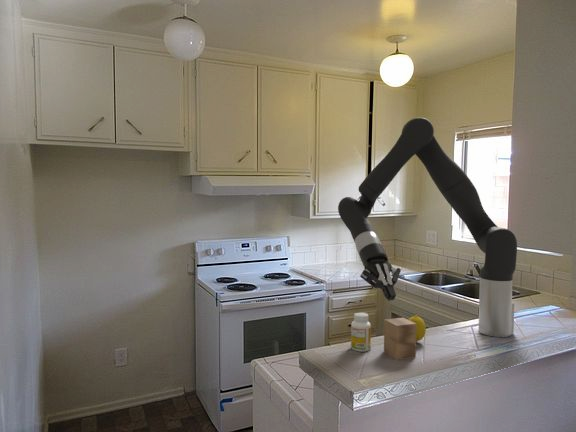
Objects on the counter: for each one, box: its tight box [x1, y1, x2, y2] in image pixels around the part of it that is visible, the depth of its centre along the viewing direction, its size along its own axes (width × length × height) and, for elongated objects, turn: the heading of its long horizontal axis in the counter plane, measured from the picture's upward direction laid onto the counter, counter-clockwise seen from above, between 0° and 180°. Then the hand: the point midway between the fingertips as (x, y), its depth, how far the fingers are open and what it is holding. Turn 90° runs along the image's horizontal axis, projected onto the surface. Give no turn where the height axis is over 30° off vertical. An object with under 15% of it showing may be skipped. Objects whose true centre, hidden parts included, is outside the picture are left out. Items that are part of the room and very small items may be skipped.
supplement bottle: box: [350, 312, 372, 353], centre depth 119 cm, size 5×5×10 cm
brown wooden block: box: [383, 317, 417, 360], centre depth 115 cm, size 6×6×9 cm
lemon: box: [408, 314, 427, 343], centre depth 125 cm, size 6×6×8 cm
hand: (392, 298), depth 119 cm, fingers closed
